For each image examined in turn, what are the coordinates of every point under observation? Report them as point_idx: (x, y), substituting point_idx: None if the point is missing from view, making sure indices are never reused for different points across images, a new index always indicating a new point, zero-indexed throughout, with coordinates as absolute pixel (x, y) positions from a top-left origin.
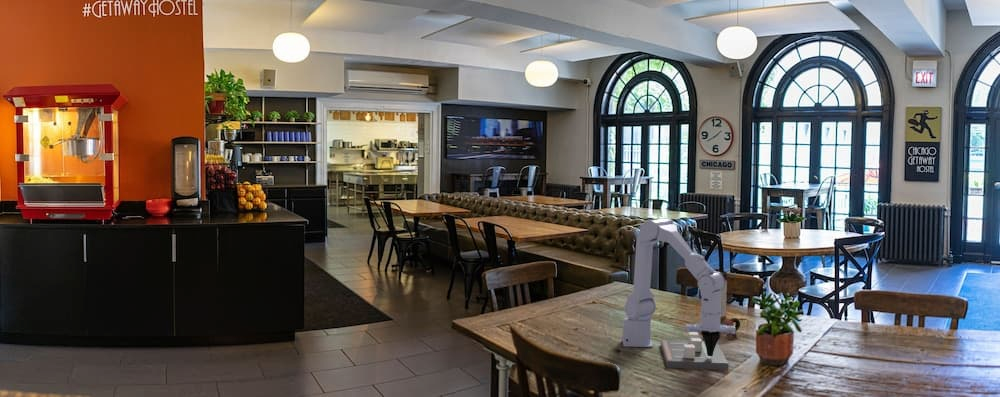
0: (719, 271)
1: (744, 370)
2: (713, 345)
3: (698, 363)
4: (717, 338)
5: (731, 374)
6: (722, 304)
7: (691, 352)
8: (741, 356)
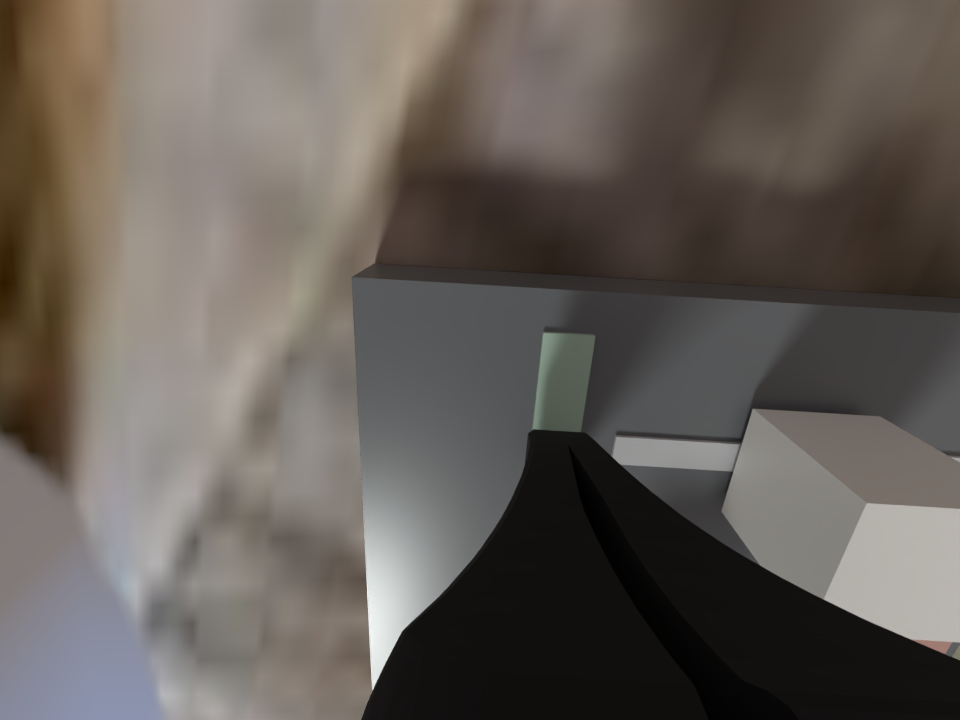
0: None
1: (199, 255)
2: (547, 514)
3: (733, 296)
4: (476, 624)
5: (360, 91)
6: None
7: (856, 455)
8: (215, 615)
